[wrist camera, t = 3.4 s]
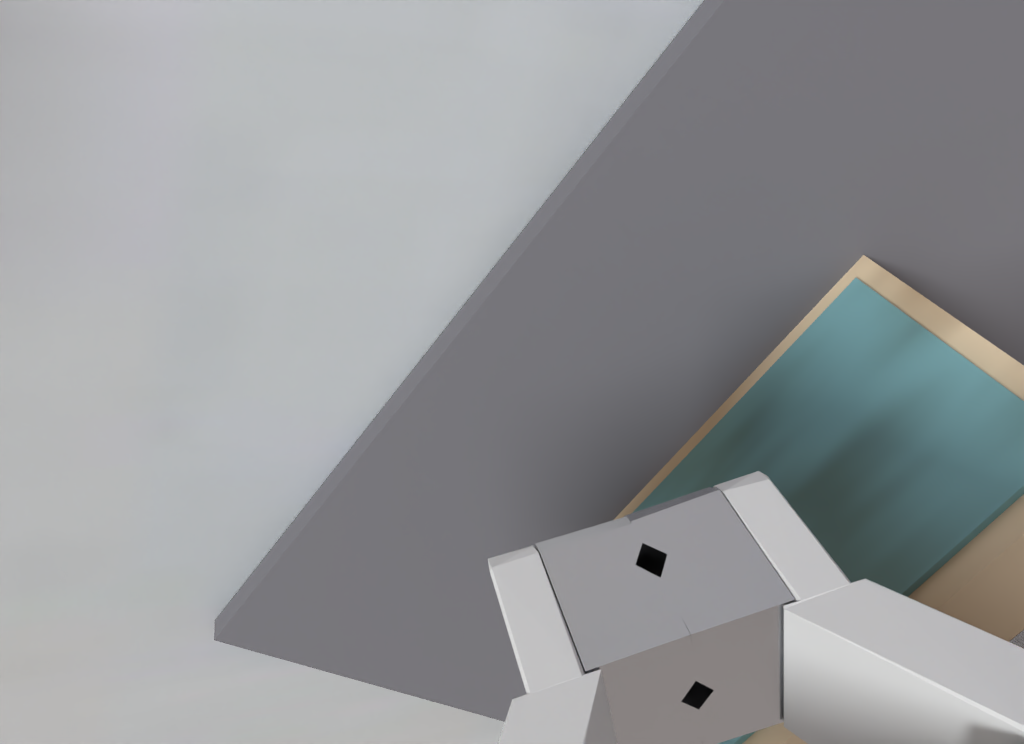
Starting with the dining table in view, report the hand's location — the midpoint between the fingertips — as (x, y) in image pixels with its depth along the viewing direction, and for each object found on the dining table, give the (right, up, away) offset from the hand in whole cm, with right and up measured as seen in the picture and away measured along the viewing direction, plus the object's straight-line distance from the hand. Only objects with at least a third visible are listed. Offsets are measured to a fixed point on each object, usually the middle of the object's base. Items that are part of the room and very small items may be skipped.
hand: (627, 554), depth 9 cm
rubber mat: (+7, -1, +14) cm, 16 cm away
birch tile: (+5, 0, +12) cm, 13 cm away
